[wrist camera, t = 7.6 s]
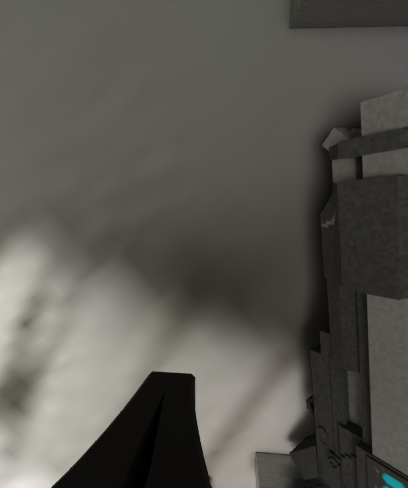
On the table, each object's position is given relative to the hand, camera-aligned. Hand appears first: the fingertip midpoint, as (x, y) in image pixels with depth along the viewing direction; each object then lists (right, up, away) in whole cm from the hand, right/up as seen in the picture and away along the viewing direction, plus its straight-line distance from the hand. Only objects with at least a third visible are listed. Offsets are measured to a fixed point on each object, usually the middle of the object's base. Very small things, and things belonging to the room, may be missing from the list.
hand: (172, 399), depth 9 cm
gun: (+7, +1, +7) cm, 10 cm away
